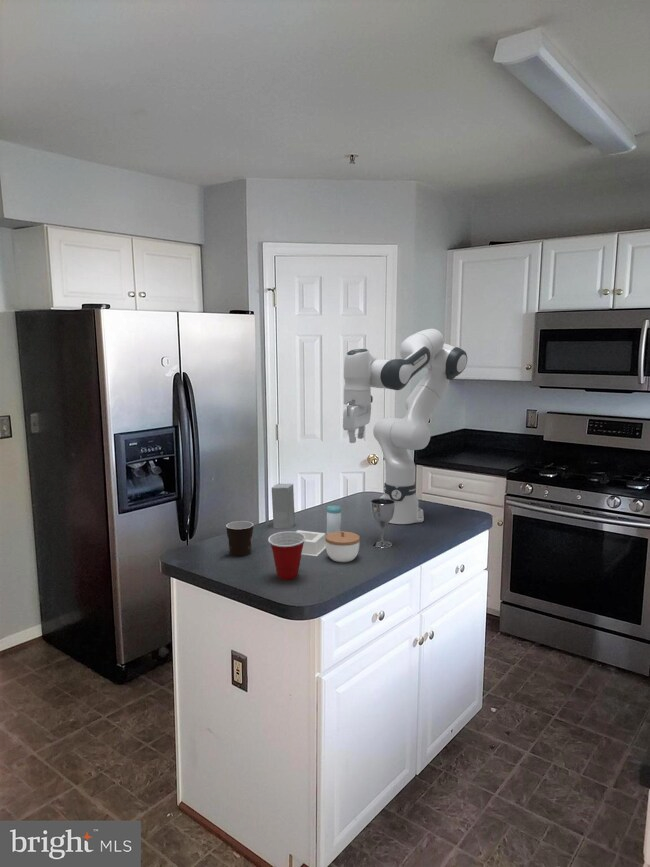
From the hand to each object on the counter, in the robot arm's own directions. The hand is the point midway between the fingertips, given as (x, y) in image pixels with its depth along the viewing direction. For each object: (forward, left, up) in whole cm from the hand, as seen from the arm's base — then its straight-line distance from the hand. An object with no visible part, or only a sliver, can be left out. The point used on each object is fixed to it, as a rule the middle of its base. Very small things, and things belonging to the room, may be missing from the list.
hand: (356, 440), depth 201 cm
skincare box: (-8, -30, -35) cm, 47 cm away
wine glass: (-1, +9, -35) cm, 36 cm away
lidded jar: (+18, +1, -35) cm, 40 cm away
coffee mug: (+23, -31, -35) cm, 52 cm away
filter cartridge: (+1, -8, -35) cm, 36 cm away
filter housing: (+13, -13, -35) cm, 40 cm away
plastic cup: (+36, -10, -35) cm, 51 cm away
